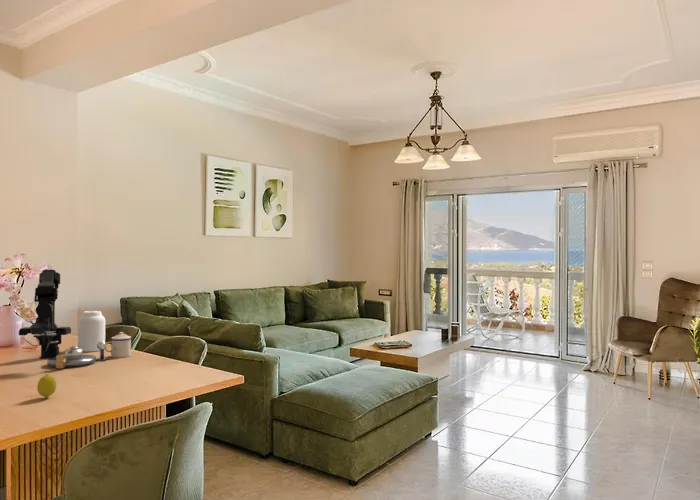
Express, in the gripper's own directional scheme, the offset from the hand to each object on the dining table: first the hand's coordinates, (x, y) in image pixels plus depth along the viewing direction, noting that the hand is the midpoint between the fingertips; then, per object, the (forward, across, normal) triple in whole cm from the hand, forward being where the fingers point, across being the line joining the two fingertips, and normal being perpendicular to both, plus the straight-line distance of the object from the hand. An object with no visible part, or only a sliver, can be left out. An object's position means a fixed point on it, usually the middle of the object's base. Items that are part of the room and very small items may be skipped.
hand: (44, 351), depth 217 cm
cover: (+5, +7, +11) cm, 14 cm away
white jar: (+8, +2, +47) cm, 48 cm away
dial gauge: (+8, +16, +19) cm, 26 cm away
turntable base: (+8, +6, +11) cm, 15 cm away
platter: (+7, +7, +9) cm, 13 cm away
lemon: (+8, +22, -46) cm, 52 cm away
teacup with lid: (+8, +20, +28) cm, 36 cm away
